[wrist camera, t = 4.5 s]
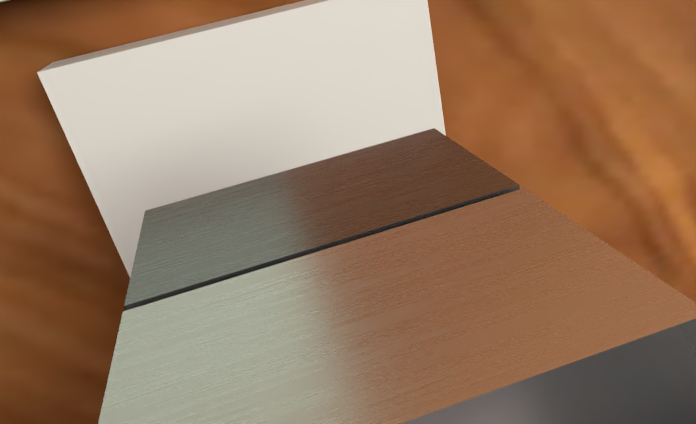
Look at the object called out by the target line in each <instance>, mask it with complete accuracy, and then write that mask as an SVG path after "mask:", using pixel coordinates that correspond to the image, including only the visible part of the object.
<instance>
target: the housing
mask: <svg viewBox="0 0 696 424" xmlns="http://www.w3.org/2000/svg"><path fill="white" fill-rule="evenodd" d="M124 307H125V309H126V311H123V313H122V318H121V322H120V327H119V331H118V336H117V340H116V345H115V349H114V354H113V358H112V363H111V367H110V372H109V376H108V381H107V386H106V390H105V395H104V399H103V404H102V408H101V413H100V417H99V422H98V424H696V303H695V302H693V301H692V300H690V299H689V298H687V297H686V296H684V295H683V294H681V293H680V292H678V291H677V290H675V289H674V288H672V287H671V286H669V285H668V284H666V283H665V282H663V281H662V280H660V279H659V278H657V277H656V276H655V275H653V274H652V273H650V272H649V271H647V270H646V269H644V268H643V267H641V266H640V265H638V264H637V263H635V262H634V261H632V260H631V259H629V258H628V257H626V256H625V255H623V254H622V253H620V252H619V251H617V250H616V249H614V248H613V247H611V246H610V245H608V244H607V243H605V242H604V241H602V240H601V239H599V238H598V237H596V236H595V235H593V234H592V233H590V232H589V231H587V230H586V229H584V228H583V227H581V226H580V225H578V224H577V223H575V222H574V221H572V220H571V219H569V218H568V217H566V216H565V215H563V214H562V213H560V212H559V211H557V210H556V209H554V208H553V207H551V206H550V205H548V204H547V203H545V202H544V201H542V200H541V199H539V198H538V197H536V196H535V195H533V194H532V193H530V192H529V191H527V190H526V189H525V188H523V189H520V190H519V184H517V183H516V182H514V181H513V180H511V179H510V178H508V177H507V176H505V175H504V174H502V173H501V172H499V171H498V170H496V169H495V168H493V167H492V166H490V165H489V164H487V163H486V162H484V161H483V160H481V159H480V158H478V157H477V156H475V155H474V154H472V153H471V152H469V151H468V150H466V149H465V148H463V147H462V146H460V145H459V144H457V143H456V142H454V141H453V140H451V139H450V138H448V137H447V136H445V135H444V134H442V133H441V132H439V131H438V130H436V129H435V128H433V129H430V130H426V131H423V132H419V133H416V134H412V135H409V136H405V137H402V138H398V139H395V140H391V141H388V142H384V143H381V144H377V145H374V146H370V147H367V148H363V149H360V150H356V151H353V152H349V153H346V154H342V155H339V156H335V157H332V158H328V159H325V160H321V161H318V162H314V163H311V164H307V165H304V166H300V167H297V168H293V169H290V170H286V171H283V172H279V173H276V174H272V175H269V176H265V177H262V178H258V179H255V180H251V181H248V182H244V183H241V184H237V185H234V186H230V187H227V188H223V189H220V190H216V191H212V192H209V193H205V194H202V195H198V196H195V197H191V198H188V199H184V200H181V201H177V202H174V203H170V204H167V205H163V206H160V207H156V208H153V209H149V210H146V211H145V213H144V218H143V222H142V227H141V231H140V236H139V241H138V245H137V250H136V254H135V259H134V263H133V268H132V272H131V277H130V281H129V286H128V290H127V295H126V299H125V304H124Z"/></svg>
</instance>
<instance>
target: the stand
mask: <svg viewBox="0 0 696 424" xmlns="http://www.w3.org/2000/svg"><path fill="white" fill-rule="evenodd" d="M37 73H38V76H39V78H40V80H41V82H42V84H43V87H44V89H45V91H46V93H47V96H48V98H49V100H50V102H51V104H52V107H53V109H54V111H55V113H56V115H57V118H58V120H59V122H60V124H61V126H62V129H63V131H64V133H65V135H66V138H67V140H68V142H69V144H70V146H71V149H72V151H73V153H74V155H75V157H76V160H77V162H78V164H79V166H80V168H81V171H82V173H83V175H84V177H85V180H86V182H87V184H88V186H89V188H90V191H91V193H92V195H93V197H94V199H95V202H96V204H97V206H98V208H99V210H100V213H101V215H102V217H103V219H104V222H105V224H106V226H107V228H108V230H109V233H110V235H111V237H112V239H113V241H114V244H115V246H116V248H117V250H118V252H119V255H120V257H121V259H122V261H123V264H124V266H125V268H126V270H127V272H128V275H129V277H131V272H132V268H133V263H134V259H135V254H136V250H137V245H138V241H139V236H140V231H141V227H142V222H143V218H144V213H145V211H146V210H149V209H153V208H156V207H160V206H163V205H167V204H170V203H174V202H177V201H181V200H184V199H188V198H191V197H195V196H198V195H202V194H205V193H209V192H212V191H216V190H220V189H223V188H227V187H230V186H234V185H237V184H241V183H244V182H248V181H251V180H255V179H258V178H262V177H265V176H269V175H272V174H276V173H279V172H283V171H286V170H290V169H293V168H297V167H300V166H304V165H307V164H311V163H314V162H318V161H321V160H325V159H328V158H332V157H335V156H339V155H342V154H346V153H349V152H353V151H356V150H360V149H363V148H367V147H370V146H374V145H377V144H381V143H384V142H388V141H391V140H395V139H398V138H402V137H405V136H409V135H412V134H416V133H419V132H423V131H426V130H430V129H433V128H435V129H436V130H438V131H439V132H441V133H442V134H444V135H445V136H446V134H445V127H444V119H443V112H442V105H441V97H440V90H439V83H438V75H437V68H436V61H435V53H434V46H433V39H432V31H431V24H430V16H429V9H428V2H427V0H304V1H300V2H296V3H292V4H288V5H283V6H279V7H275V8H271V9H267V10H263V11H259V12H255V13H251V14H247V15H243V16H239V17H235V18H231V19H226V20H222V21H218V22H214V23H210V24H206V25H202V26H198V27H194V28H190V29H186V30H182V31H178V32H174V33H169V34H165V35H161V36H157V37H153V38H149V39H145V40H141V41H137V42H133V43H129V44H125V45H121V46H117V47H112V48H108V49H104V50H100V51H96V52H92V53H88V54H84V55H80V56H76V57H72V58H68V59H64V60H60V61H55V62H52V63H51V64H49V65H48V66H46V67H45V68H43V69H42V70H40V71H38V72H37Z"/></svg>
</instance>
